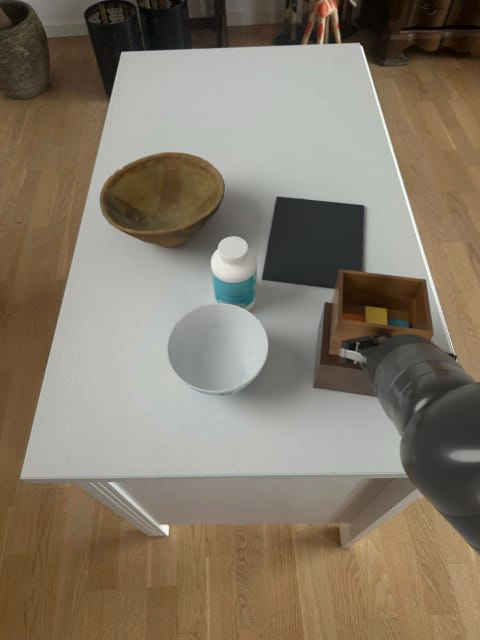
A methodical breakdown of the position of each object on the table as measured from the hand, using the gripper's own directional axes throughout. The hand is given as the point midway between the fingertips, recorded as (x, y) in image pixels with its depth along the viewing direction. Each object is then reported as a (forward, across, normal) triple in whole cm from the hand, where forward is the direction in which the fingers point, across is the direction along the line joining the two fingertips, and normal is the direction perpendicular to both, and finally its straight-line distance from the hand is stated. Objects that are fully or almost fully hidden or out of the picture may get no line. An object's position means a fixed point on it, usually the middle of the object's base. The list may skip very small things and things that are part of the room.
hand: (381, 340), depth 57 cm
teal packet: (+7, -3, 0) cm, 8 cm away
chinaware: (+10, +22, +10) cm, 26 cm away
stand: (+13, 0, +7) cm, 15 cm away
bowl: (+31, +38, -11) cm, 50 cm away
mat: (+31, +9, -12) cm, 34 cm away
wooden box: (+7, 0, 0) cm, 7 cm away
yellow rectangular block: (+6, 0, -1) cm, 6 cm away
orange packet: (+7, +3, 0) cm, 8 cm away
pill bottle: (+20, +22, 0) cm, 30 cm away
